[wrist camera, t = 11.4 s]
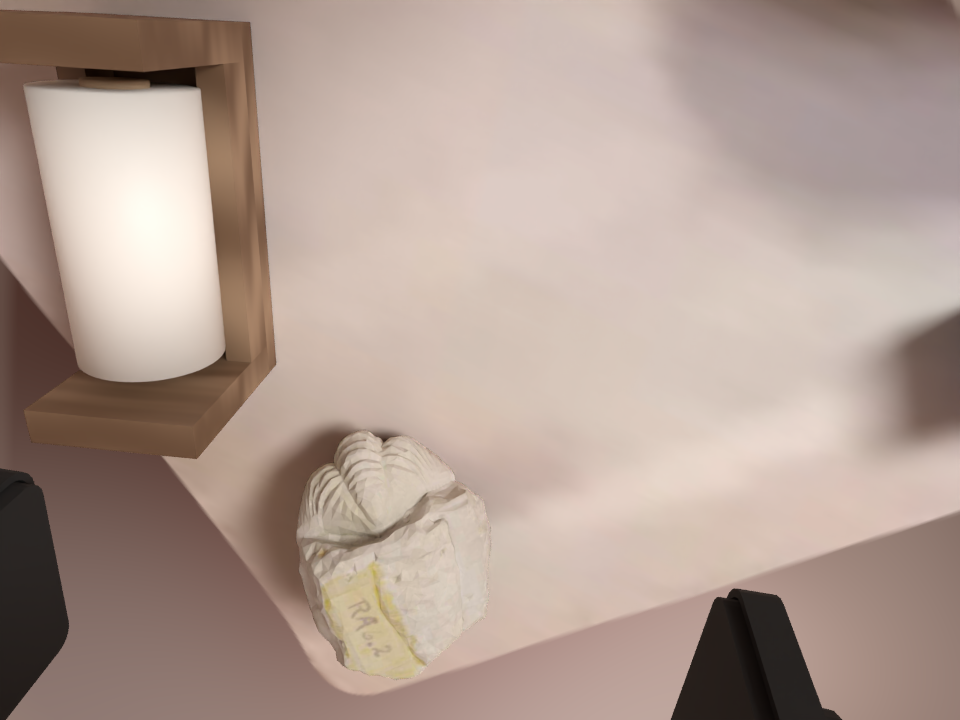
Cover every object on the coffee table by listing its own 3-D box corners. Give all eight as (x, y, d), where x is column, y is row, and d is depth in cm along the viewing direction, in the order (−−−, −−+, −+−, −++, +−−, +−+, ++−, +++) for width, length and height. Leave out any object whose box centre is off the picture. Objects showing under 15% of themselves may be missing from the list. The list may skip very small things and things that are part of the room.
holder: (90, 13, 31) (-78, 6, 22) (249, 22, 30) (136, 19, 22) (145, 352, 37) (31, 442, 29) (276, 364, 37) (197, 459, 29)
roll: (92, 70, 30) (-21, 77, 24) (227, 81, 29) (142, 90, 24) (131, 324, 35) (45, 377, 29) (248, 339, 34) (182, 395, 29)
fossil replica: (411, 377, 37) (286, 464, 41) (350, 462, 29) (205, 559, 33) (552, 543, 39) (421, 610, 43) (529, 661, 32) (373, 729, 36)
